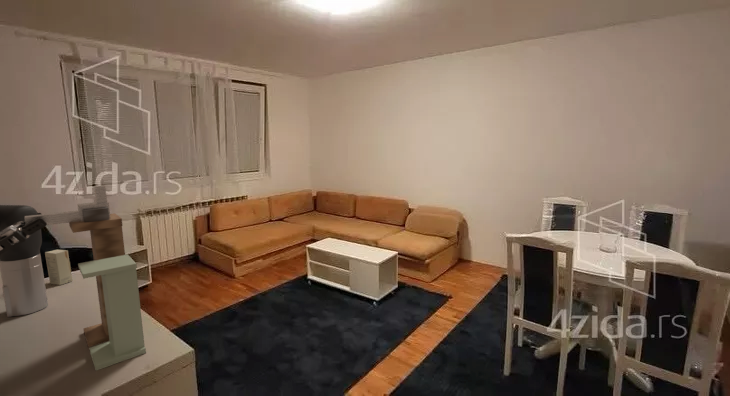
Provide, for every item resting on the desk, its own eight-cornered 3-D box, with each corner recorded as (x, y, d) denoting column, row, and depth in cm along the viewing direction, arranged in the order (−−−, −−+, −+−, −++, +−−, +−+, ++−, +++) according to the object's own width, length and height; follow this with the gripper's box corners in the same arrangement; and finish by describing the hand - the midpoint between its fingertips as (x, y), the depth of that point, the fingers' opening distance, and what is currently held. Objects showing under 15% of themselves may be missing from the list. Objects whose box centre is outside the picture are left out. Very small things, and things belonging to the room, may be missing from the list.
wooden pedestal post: (88, 347, 89) (70, 212, 84) (83, 332, 96) (66, 207, 91) (134, 332, 96) (120, 207, 90) (127, 319, 103) (113, 202, 98)
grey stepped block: (26, 228, 81) (20, 192, 79) (26, 225, 84) (20, 190, 83) (110, 218, 92) (106, 186, 90) (107, 215, 95) (104, 185, 93)
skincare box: (73, 281, 133) (69, 250, 131) (60, 285, 129) (55, 253, 127) (62, 279, 135) (57, 248, 133) (48, 283, 131) (44, 252, 129)
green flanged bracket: (95, 370, 80) (82, 274, 76) (90, 352, 87) (78, 263, 83) (146, 352, 86) (136, 263, 83) (137, 337, 94) (127, 254, 90)
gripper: (-61, 259, 69) (31, 209, 77) (-49, 244, 79) (30, 202, 88) (-27, 285, 73) (57, 235, 81) (-20, 268, 83) (54, 225, 91)
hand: (43, 218), depth 84 cm, fingers open, 8 cm apart
